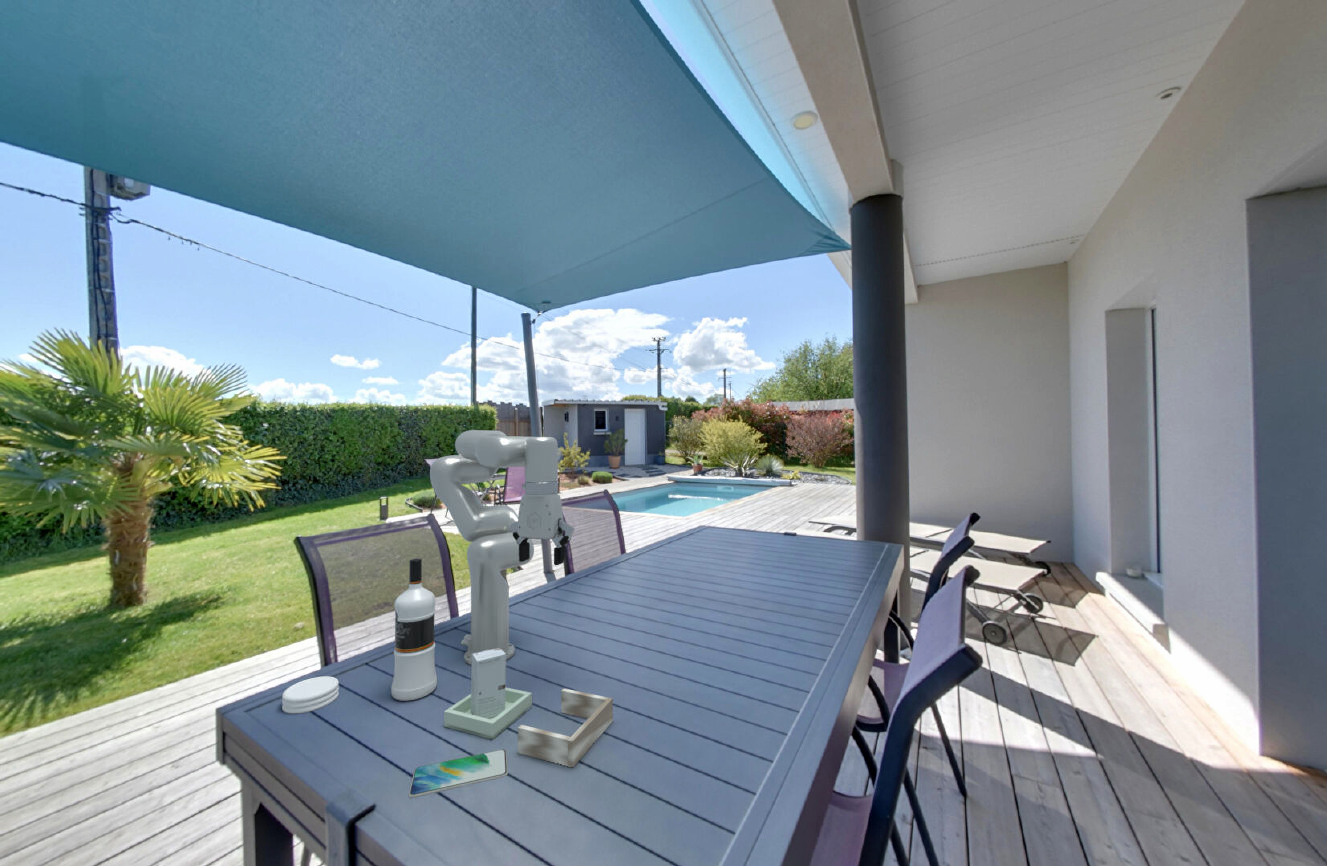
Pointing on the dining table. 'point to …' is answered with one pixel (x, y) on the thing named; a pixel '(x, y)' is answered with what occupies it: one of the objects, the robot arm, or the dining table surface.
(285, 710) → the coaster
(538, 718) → the dining table surface
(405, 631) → the vodka
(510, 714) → the tray
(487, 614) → the robot arm
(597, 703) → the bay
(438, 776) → the smartphone
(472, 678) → the skincare box
